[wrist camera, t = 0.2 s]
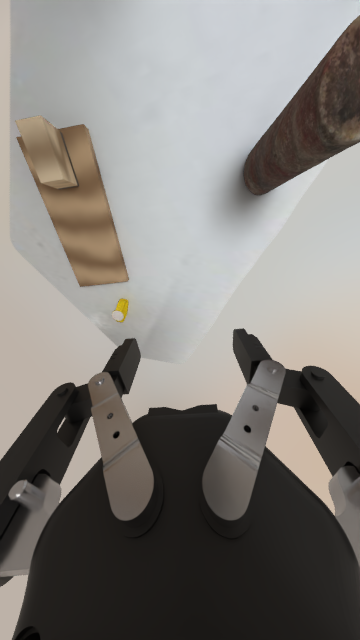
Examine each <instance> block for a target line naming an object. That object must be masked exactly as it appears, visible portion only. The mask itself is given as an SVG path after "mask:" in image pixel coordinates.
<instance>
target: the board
mask: <svg viewBox="0 0 360 640" xmlns="http://www.w3.org/2000/svg"><path fill="white" fill-rule="evenodd" d="M58 130H59V131H60V132H61V133H62V134H63V138H64V141H65V144H66V147H67V150H68V153H69V156H70V159H71V162H72V165H73V168H74V171H75V174H76V177H77V180H78V183H79V186H78V187H72V188H66V189H60V190H59V189H57V188H54V187H51V186H48V185H45V184H42V183H41V182H40V180H39V177H38V175H37V172H36V170H35V168H34V165H33V163H32V160H31V158H30V156H29V153H28V151H27V148H26V146H25V144H24V141H23V139H22V136H21V137H16V138H17V140H18V143H19V145H20V147H21V150H22V152H23V154H24V157H25V159H26V161H27V164H28V166H29V168H30V171H31V173H32V175H33V178H34V180H35V182H36V185H37V187H38V189H39V192H40V194H41V196H42V199H43V201H44V203H45V206H46V208H47V210H48V213H49V215H50V217H51V220H52V222H53V224H54V227H55V229H56V231H57V234H58V236H59V238H60V241H61V243H62V245H63V248H64V250H65V252H66V255H67V257H68V259H69V262H70V264H71V267H72V269H73V271H74V274H75V276H76V278H77V281H78V283H79V285H80V287H82V286H90V285H99V284H107V283H116V282H125V281H128V280H129V277H128V274H127V270H126V266H125V263H124V259H123V255H122V252H121V248H120V244H119V241H118V237H117V233H116V230H115V226H114V222H113V219H112V215H111V211H110V207H109V204H108V200H107V196H106V193H105V189H104V185H103V182H102V178H101V174H100V171H99V167H98V163H97V160H96V156H95V152H94V149H93V145H92V141H91V138H90V134H89V130H88V129H87V127H86V126H85V125H84V124H82V125H77V126H72V127H67V128H62V129H58Z"/></svg>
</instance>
